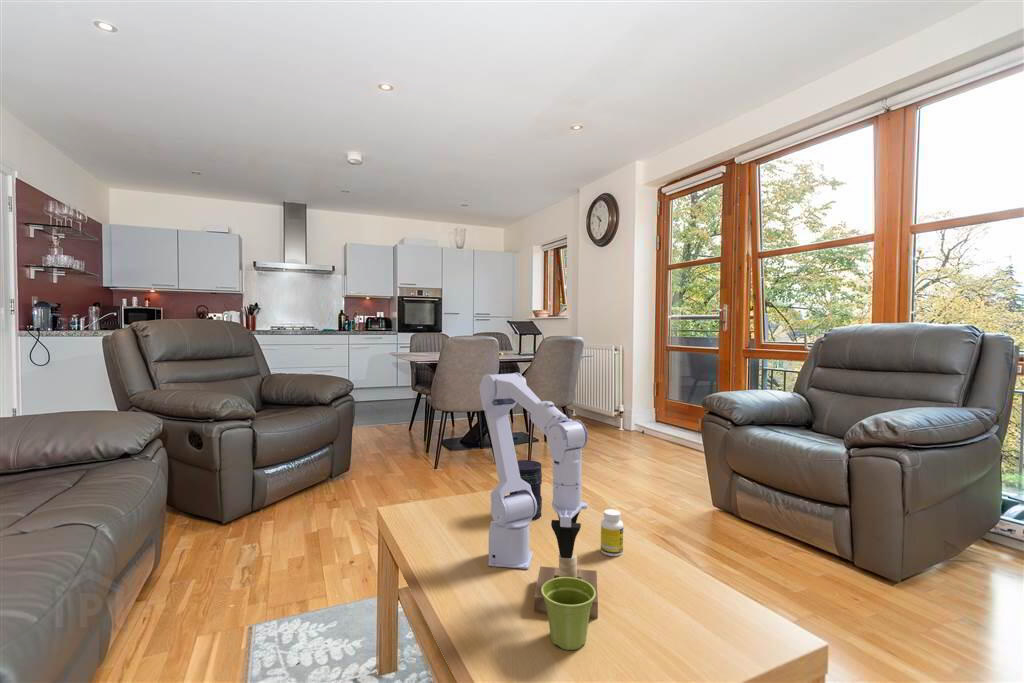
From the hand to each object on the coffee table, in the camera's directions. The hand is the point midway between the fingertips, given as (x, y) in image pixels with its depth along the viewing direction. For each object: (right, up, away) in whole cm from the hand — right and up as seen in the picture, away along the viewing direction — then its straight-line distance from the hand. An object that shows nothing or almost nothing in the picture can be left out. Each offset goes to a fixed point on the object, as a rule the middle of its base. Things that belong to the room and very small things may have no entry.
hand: (566, 548), depth 96 cm
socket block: (0, -10, 0) cm, 10 cm away
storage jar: (-7, -10, +44) cm, 45 cm away
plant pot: (-1, -11, -13) cm, 17 cm away
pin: (0, -10, 0) cm, 10 cm away
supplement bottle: (+13, -10, +20) cm, 26 cm away
